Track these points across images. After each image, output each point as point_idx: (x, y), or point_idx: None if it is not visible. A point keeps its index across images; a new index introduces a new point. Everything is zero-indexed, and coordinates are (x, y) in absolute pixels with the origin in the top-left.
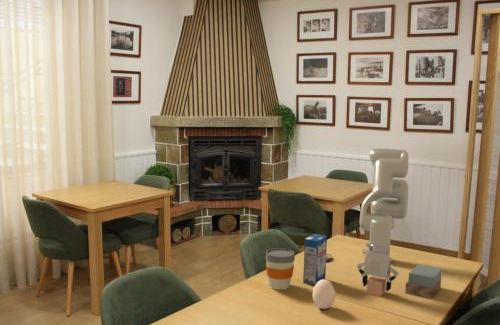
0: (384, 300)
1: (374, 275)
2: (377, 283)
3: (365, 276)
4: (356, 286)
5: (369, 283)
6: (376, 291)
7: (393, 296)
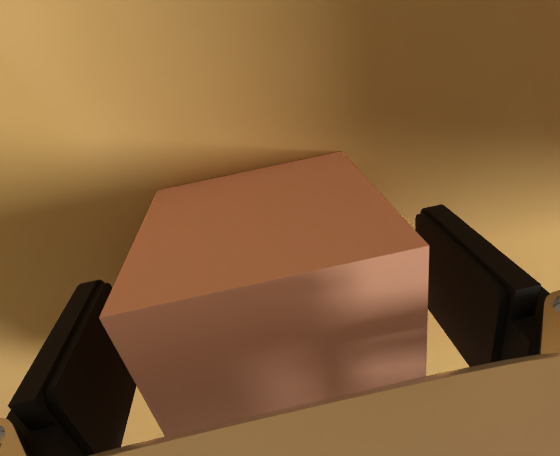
0: (34, 109)
1: (305, 406)
2: (199, 275)
3: (516, 326)
4: (510, 235)
5: (356, 221)
6: (217, 200)
7: (69, 295)
